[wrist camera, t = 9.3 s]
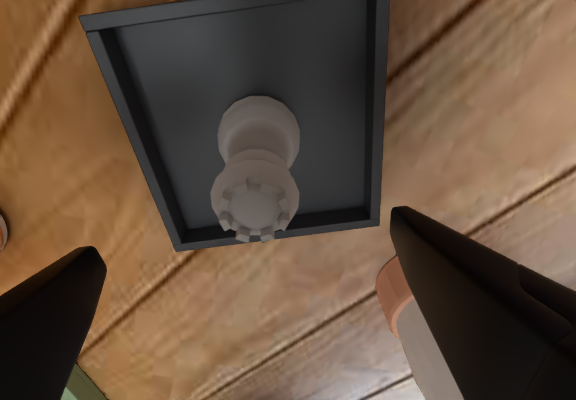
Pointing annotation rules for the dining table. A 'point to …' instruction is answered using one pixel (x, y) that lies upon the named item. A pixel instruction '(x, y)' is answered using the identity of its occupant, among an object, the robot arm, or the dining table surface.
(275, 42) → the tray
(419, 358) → the salt shaker
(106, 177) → the dining table surface
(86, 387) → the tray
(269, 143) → the rook chess piece
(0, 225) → the pill bottle
